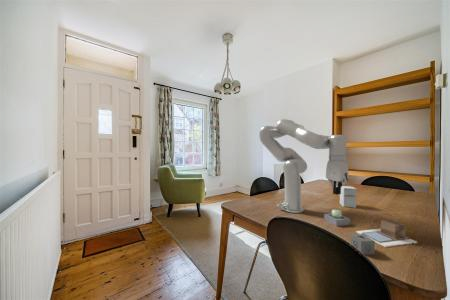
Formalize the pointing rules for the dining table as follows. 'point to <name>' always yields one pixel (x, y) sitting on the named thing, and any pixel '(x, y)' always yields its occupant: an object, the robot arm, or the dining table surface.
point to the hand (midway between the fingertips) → (336, 193)
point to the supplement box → (348, 196)
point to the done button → (336, 214)
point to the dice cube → (363, 243)
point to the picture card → (385, 238)
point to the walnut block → (393, 229)
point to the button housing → (337, 220)
